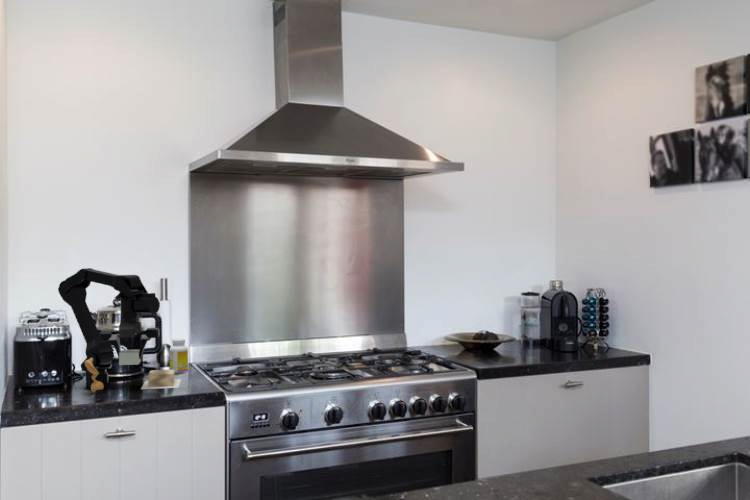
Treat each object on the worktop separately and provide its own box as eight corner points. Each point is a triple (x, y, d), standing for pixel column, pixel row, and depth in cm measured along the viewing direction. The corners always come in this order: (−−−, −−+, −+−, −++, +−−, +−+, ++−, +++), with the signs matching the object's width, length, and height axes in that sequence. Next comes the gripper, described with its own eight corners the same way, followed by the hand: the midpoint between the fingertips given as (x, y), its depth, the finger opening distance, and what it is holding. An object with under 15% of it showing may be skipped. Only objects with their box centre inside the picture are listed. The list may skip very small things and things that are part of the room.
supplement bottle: (191, 372, 274) (191, 338, 273) (182, 375, 267) (182, 341, 267) (175, 371, 275) (175, 337, 275) (166, 374, 269) (166, 340, 268)
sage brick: (119, 365, 237) (119, 352, 237) (122, 361, 243) (122, 350, 243) (138, 364, 238) (138, 352, 238) (140, 361, 244) (140, 349, 244)
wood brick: (148, 386, 240) (148, 375, 240) (150, 382, 248) (150, 370, 248) (172, 385, 242) (172, 374, 242) (174, 381, 250) (174, 369, 249)
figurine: (108, 394, 236) (108, 357, 235) (90, 397, 232) (89, 360, 231) (98, 390, 242) (97, 354, 242) (80, 393, 238) (79, 356, 237)
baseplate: (140, 393, 237) (140, 389, 237) (145, 384, 250) (145, 380, 250) (178, 392, 239) (178, 387, 239) (181, 383, 253) (181, 379, 253)
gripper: (95, 316, 230) (96, 364, 231) (156, 314, 234) (156, 362, 235) (101, 312, 241) (102, 358, 242) (159, 311, 245) (160, 356, 245)
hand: (130, 359), depth 241 cm, fingers closed on sage brick, 6 cm apart
